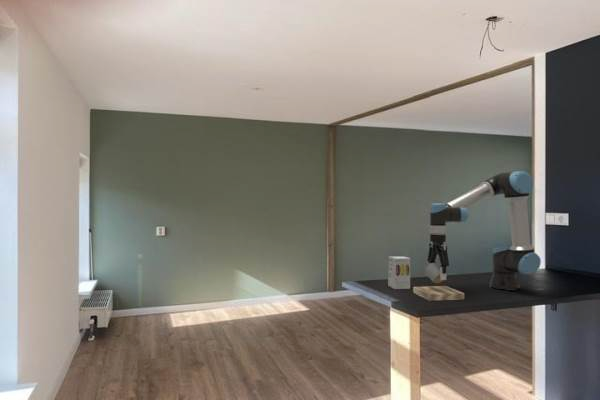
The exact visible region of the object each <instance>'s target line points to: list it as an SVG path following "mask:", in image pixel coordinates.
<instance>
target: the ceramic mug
mask: <svg viewBox="0 0 600 400" xmlns="http://www.w3.org/2000/svg"><path fill="white" fill-rule="evenodd" d="M423 272H424V274H425V275H426V276H427V277H428V278H429V279H430V280H431V281H432V283H434V284H437V285H438V284H440V283H442V282H443V281H444V280H440V266H439V265H438V264H437V263H431V264H430V263H429V264H428V265H427V266H426V267H425V268H424V271H423ZM447 277H448V272H447V271H446V278H447Z"/></svg>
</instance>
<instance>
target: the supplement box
mask: <svg viewBox="0 0 600 400" xmlns="http://www.w3.org/2000/svg"><path fill="white" fill-rule="evenodd" d="M387 265H388V267H387V268H388V269H387V272H388V276H387V281H388V282H387V283H388V284H387V285H388V287H390V288H392V289H393V290H407V289H408V290H409V289H411V258H410V257H407V256H400V255H399V256H390V255H389V256H388V264H387Z"/></svg>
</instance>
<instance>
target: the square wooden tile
mask: <svg viewBox="0 0 600 400" xmlns="http://www.w3.org/2000/svg"><path fill="white" fill-rule="evenodd" d="M412 291H413V294H415V295H417V296H419V297H421V298H423V299H425V300H427V301H429V302H431V301H432V302H435V301H456V300H458V301H459V300H465V292H462V291H460V290H457V289H455V288H451V287H450V286H447V285H436V286H435V285H433V286H432V285H431V286H428V285H427V286H413V287H412Z"/></svg>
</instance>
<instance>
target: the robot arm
mask: <svg viewBox="0 0 600 400" xmlns="http://www.w3.org/2000/svg"><path fill="white" fill-rule="evenodd" d="M533 188H534V181H533V177H532V176H531V175H530V174H529V173H527V172H526V171H521V170H520V171H518V170H516V171H509V172H508V171H507V172H500V173H498V174H495V175H494V176H491V177H490V178H488V179H485V180H484V181H482V182H481V183H480V185H478V186H477V187H475V188H473V189H471V190H469V191H467V192H466V193H463V194H462V195H460V196H458V197H455V198H454V199H452V200H450V201H449V202H446V203H438V202H437V203H435V202H434V203H431V204H430V207H429V208H430V209H429V225H430V227H429V232H430V234H429V241H430V243H429V244H428V247H429V248H428V252H427V253H428V255H427V262H428V263H429V265H430V264H431V263H436V259H437V255H438V258H439V261H440V262H439V263H440V266H439V267H440V280H443V281H446V280H447V277H446V272H447V267H449V266H450V263H449V255H448V245H444V243H446V241H447V235H446V233H447V226H446V225H447V223H463V222H464V223H465V222H466V221H468V219H469V211H468V208H471V207H472V206H474V205H475V204H478V203H479V202H481V201H483V200H485V199H486V198H492V197H494V196H497V195H503V197H504V199H505V200H506V201H507V203H508V213H509V215H508V216H509V223H510V224H509V225H510V235H511V246H507V247H506V246H505V247H504V246H503V247H494V248H493V250H492V276H491V278H490V282H489V288H491V287H493V288H497V289H496V290H498V289H518V288H520V289H521V285H520V282H519V280H518V277H517V273H519V274H521V275H533V274H535V273H537V271H538V270H539V269H540V267H541V262H542V259H541V257H540V256H539V254H537V253H536V252H535V247H534V246H533V245H532V244H531V237H530V236H531V235H530V224H529V214H528V207H527V206H528V203H527V200H528V198H529V197H530V192H532V191H533V190H532V189H533ZM436 264H437V263H436ZM493 288H492V289H493Z"/></svg>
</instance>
